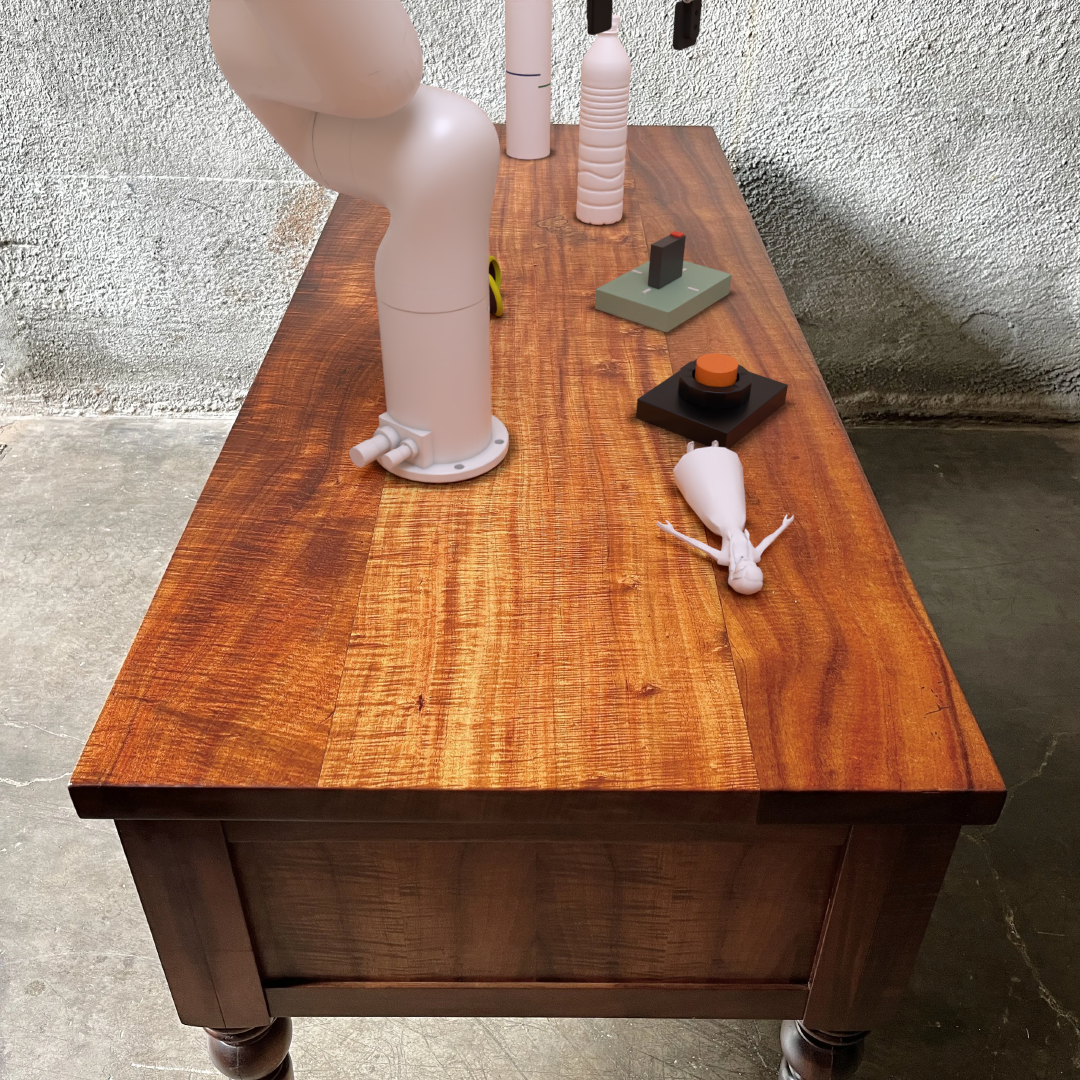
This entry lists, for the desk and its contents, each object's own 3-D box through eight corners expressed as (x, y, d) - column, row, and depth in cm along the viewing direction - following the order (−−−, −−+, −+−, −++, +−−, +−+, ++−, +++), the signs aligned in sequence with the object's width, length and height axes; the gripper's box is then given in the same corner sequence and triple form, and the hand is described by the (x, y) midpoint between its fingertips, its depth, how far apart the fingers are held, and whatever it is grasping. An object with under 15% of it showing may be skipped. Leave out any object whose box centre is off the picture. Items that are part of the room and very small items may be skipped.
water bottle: (620, 227, 143) (632, 28, 128) (573, 224, 144) (579, 26, 129) (625, 205, 150) (636, 15, 135) (580, 203, 151) (587, 13, 136)
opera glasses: (462, 295, 126) (452, 256, 123) (504, 286, 126) (495, 247, 123) (461, 330, 119) (451, 290, 116) (506, 321, 118) (497, 280, 115)
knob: (659, 289, 120) (662, 245, 117) (647, 285, 121) (650, 242, 118) (682, 276, 123) (686, 233, 120) (670, 272, 124) (674, 230, 121)
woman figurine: (769, 427, 91) (831, 564, 78) (761, 468, 94) (820, 606, 81) (639, 432, 90) (679, 572, 77) (635, 473, 93) (673, 614, 80)
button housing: (724, 453, 97) (729, 415, 94) (635, 418, 102) (638, 382, 99) (785, 404, 104) (791, 368, 102) (699, 373, 109) (703, 339, 107)
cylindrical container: (501, 148, 172) (499, -22, 157) (542, 144, 173) (544, -24, 158) (513, 160, 166) (512, -14, 151) (555, 157, 168) (558, -16, 153)
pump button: (722, 392, 98) (724, 376, 97) (686, 380, 100) (688, 363, 99) (743, 377, 101) (746, 361, 100) (708, 365, 103) (710, 349, 102)
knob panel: (666, 333, 117) (668, 311, 115) (594, 309, 122) (595, 287, 120) (729, 293, 126) (732, 272, 124) (660, 272, 131) (661, 252, 129)
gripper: (543, -181, 89) (544, 34, 100) (717, -172, 81) (698, 62, 92) (594, -187, 94) (590, 20, 105) (764, -179, 86) (741, 45, 96)
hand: (640, 39), depth 98 cm, fingers open, 9 cm apart
